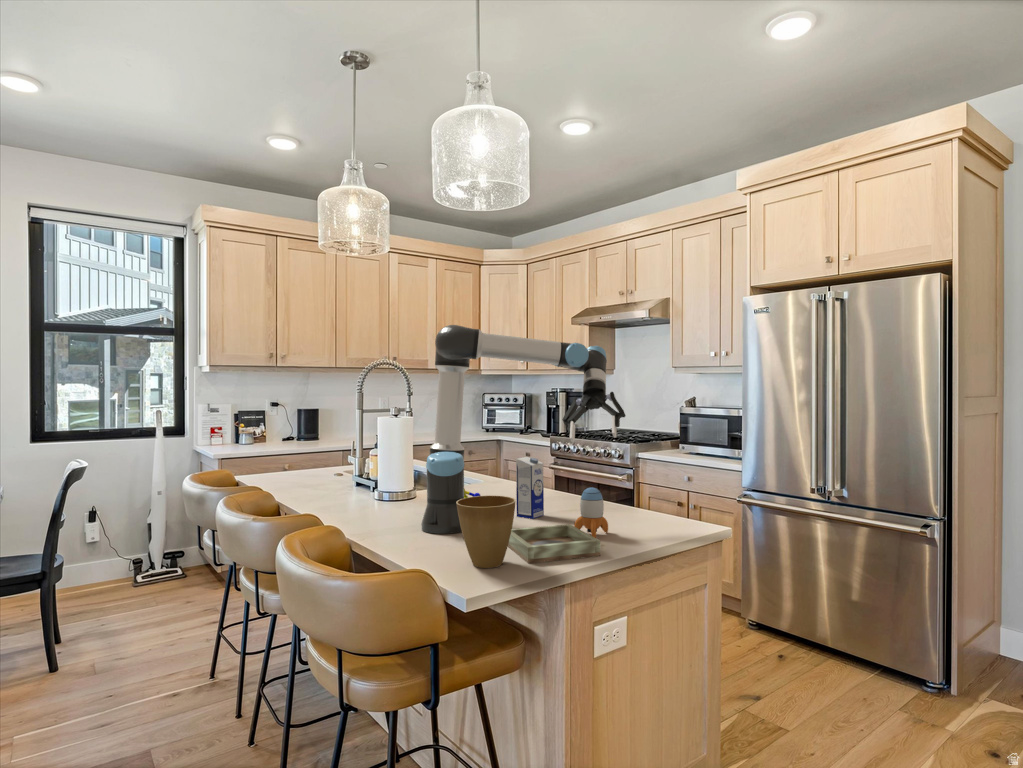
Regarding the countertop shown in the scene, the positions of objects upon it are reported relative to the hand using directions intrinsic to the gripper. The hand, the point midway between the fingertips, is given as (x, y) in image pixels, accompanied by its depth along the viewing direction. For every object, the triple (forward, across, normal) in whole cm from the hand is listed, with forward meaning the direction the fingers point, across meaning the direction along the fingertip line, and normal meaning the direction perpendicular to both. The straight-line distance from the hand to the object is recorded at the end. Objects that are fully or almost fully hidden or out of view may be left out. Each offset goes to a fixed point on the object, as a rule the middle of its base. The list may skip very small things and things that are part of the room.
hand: (592, 437), depth 189 cm
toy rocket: (+28, +2, -10) cm, 30 cm away
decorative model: (+5, +58, -26) cm, 64 cm away
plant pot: (+49, +21, +20) cm, 57 cm away
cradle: (+39, +9, +5) cm, 40 cm away
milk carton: (+13, +28, -24) cm, 39 cm away
